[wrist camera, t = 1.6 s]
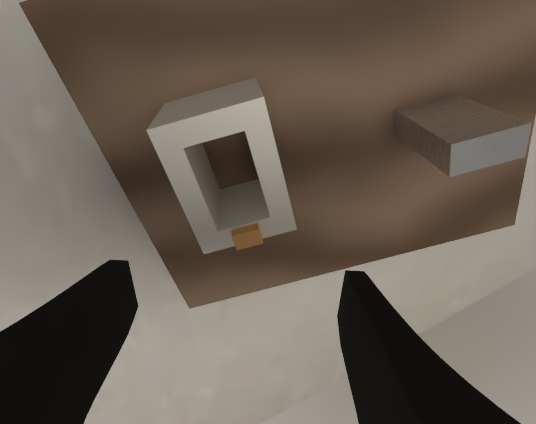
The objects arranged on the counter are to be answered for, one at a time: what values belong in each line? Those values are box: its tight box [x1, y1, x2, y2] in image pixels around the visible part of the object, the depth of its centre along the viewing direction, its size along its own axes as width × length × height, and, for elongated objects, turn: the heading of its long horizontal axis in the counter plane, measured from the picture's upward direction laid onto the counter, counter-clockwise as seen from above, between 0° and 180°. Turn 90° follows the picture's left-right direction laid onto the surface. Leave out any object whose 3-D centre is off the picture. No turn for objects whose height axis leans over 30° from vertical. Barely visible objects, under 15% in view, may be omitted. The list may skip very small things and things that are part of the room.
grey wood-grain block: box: [394, 93, 531, 177], centre depth 15 cm, size 1×3×5 cm, turn 105°
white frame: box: [146, 77, 297, 254], centre depth 15 cm, size 6×4×4 cm
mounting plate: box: [19, 0, 536, 308], centre depth 18 cm, size 18×22×1 cm
